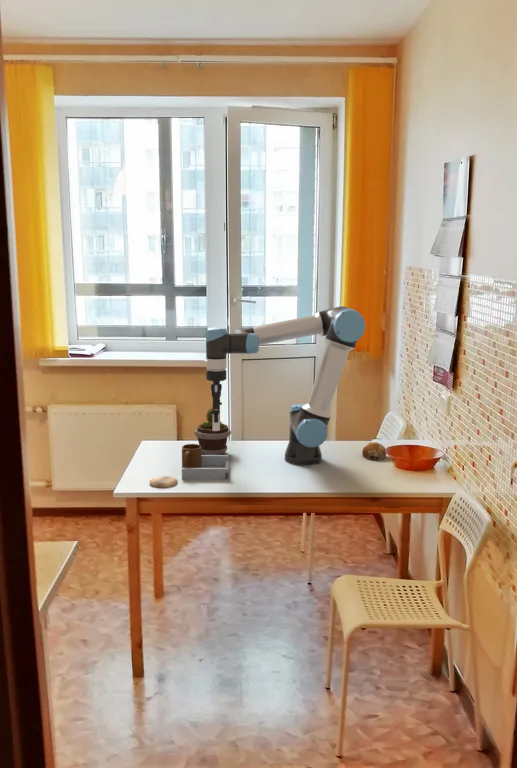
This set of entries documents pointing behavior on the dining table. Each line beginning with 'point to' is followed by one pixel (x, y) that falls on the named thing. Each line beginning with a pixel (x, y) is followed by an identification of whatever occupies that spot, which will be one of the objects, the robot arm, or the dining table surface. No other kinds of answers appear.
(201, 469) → the u-shaped frame
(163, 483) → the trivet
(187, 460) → the mug
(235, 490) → the dining table surface
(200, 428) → the flowerpot
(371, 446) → the bread roll
